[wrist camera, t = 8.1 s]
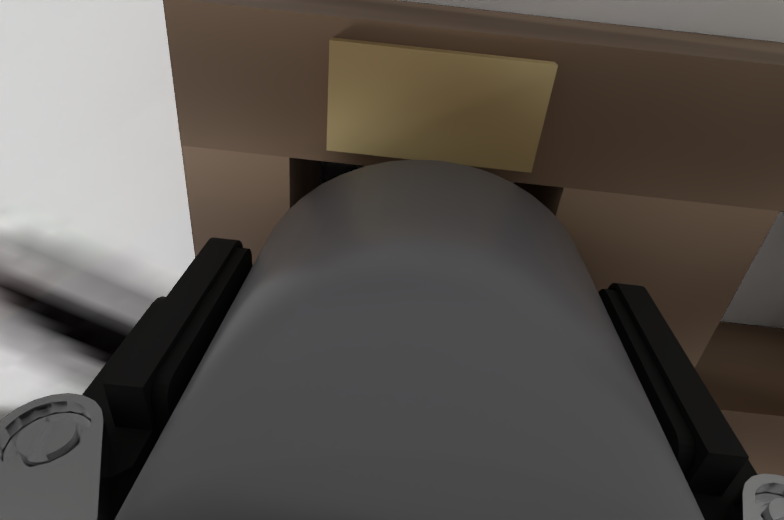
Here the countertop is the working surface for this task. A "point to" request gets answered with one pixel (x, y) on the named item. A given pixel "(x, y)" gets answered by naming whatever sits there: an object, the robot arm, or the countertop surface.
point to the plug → (414, 371)
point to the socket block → (511, 145)
